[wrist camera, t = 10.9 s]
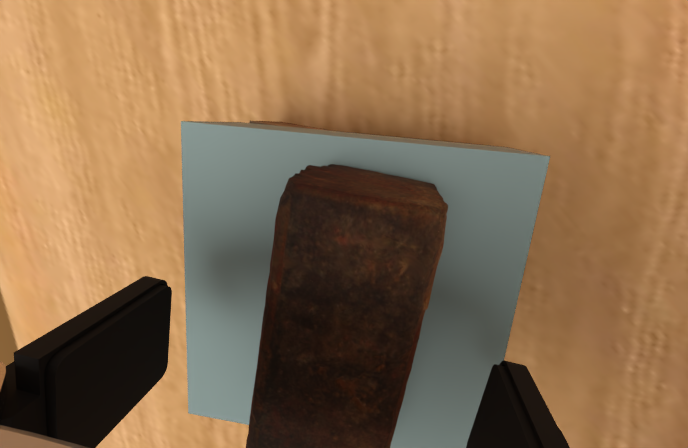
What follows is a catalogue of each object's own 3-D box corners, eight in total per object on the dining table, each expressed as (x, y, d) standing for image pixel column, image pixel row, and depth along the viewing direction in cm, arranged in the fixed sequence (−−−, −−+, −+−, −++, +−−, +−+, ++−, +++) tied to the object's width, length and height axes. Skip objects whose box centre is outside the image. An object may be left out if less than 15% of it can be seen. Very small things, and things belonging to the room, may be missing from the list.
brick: (318, 157, 13) (271, 176, 8) (437, 181, 12) (457, 215, 8) (277, 415, 16) (226, 533, 11) (372, 441, 15) (359, 575, 11)
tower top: (506, 147, 16) (550, 156, 12) (460, 384, 20) (479, 468, 15) (240, 122, 18) (180, 121, 13) (237, 347, 21) (188, 413, 16)
